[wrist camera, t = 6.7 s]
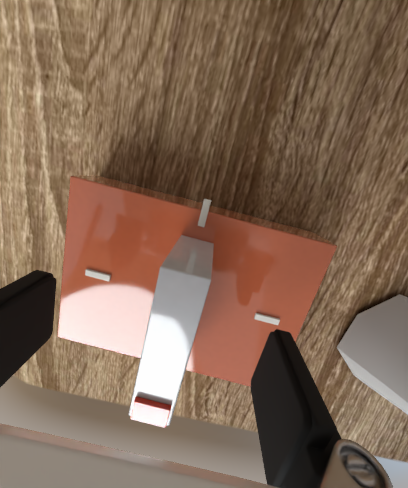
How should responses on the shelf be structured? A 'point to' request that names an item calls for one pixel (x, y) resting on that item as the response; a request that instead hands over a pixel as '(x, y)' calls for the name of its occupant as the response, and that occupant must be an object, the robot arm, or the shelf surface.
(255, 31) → the shelf surface
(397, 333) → the flask
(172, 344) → the tap handle
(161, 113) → the shelf surface
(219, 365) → the panel
